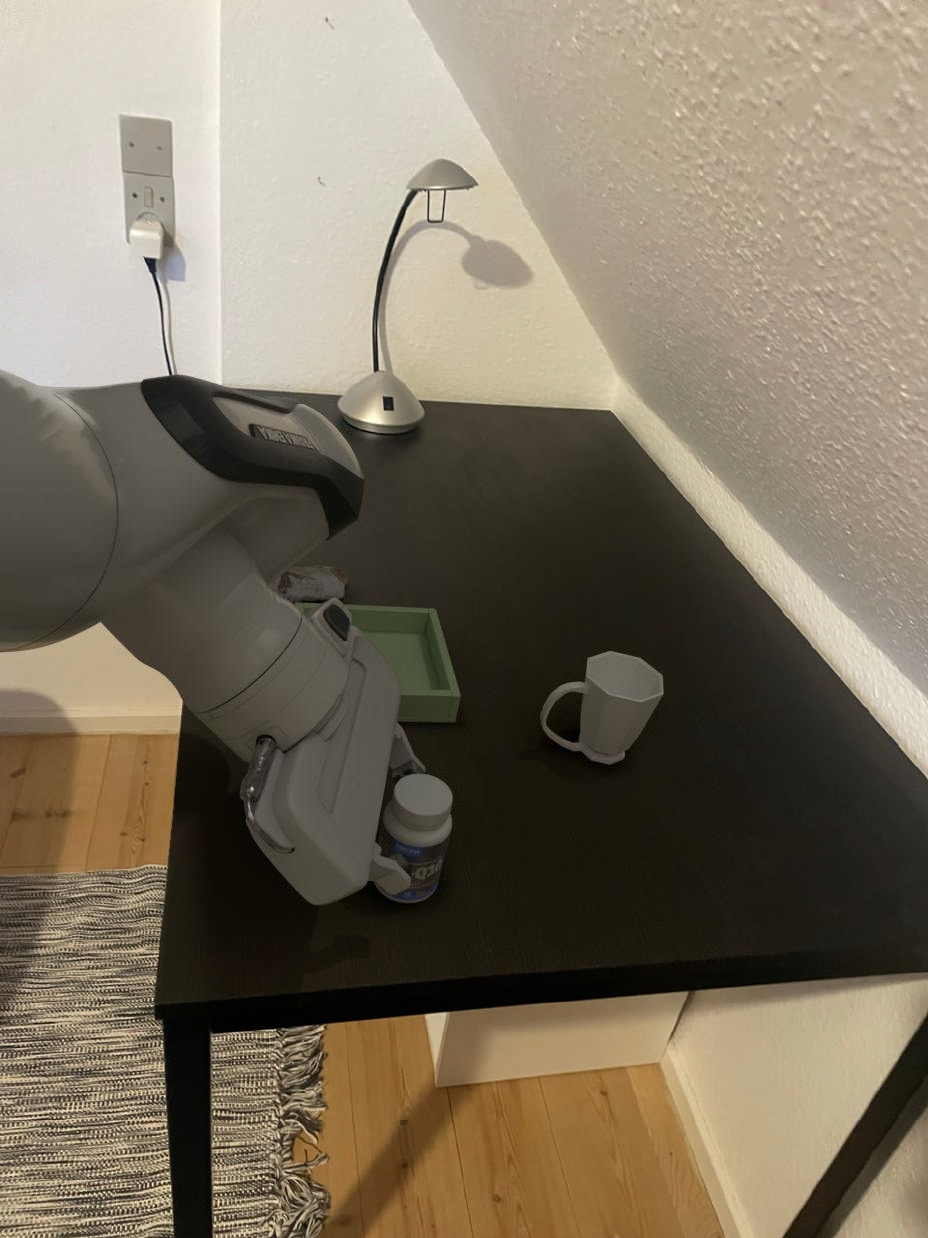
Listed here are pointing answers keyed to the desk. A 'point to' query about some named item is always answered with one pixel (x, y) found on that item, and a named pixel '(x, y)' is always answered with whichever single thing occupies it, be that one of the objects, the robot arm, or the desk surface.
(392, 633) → the sage tray
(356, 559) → the desk surface
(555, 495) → the desk surface
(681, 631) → the desk surface
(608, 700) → the cup
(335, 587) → the stone
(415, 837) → the pill bottle
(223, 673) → the robot arm
